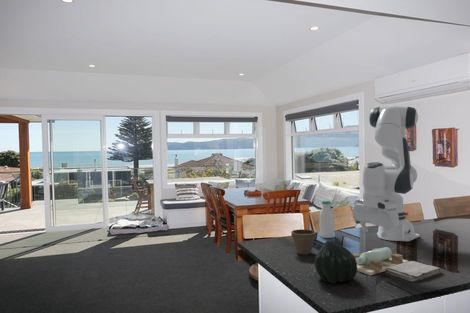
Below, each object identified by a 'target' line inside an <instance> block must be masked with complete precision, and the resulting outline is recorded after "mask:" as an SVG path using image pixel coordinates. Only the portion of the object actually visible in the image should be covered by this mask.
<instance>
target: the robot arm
mask: <svg viewBox="0 0 470 313" xmlns="http://www.w3.org/2000/svg"><path fill="white" fill-rule="evenodd" d="M418 120H419V114H418V112H417V109H416V108H415V107H412V106H385V107H384V106H383V107H379V106H378V107H377V106H376V107H373V108H372V109H371V110H370V113H369V117H368V121H369V124H370V126H371V127H372V128H374V129H375V130H374V140H375V142H376V143H377V145H379V146H380V147H381V155H382V156H383V157H384V158H386V159H388V160H389V161H390V162H391V164H390V165H389V164H387V165H386V164H385V165H384V163H382V162H377V161H375V162H373V161H371V162H368V163H366V164H364V166H363V171H362V186H363V193H362V199H359V198H357V199H355V200H354V201H353V212H352V218H353V220H354V221H358V222H359V224H360V225H361V228H362V232H363V233H368V232H369V228H368V227H367V225H366V224H371V225H375V226H378V228H377V229H378V231H377V232H376V235H377V237H378V239H382V240H387V241H392V242H393V241H394V242H411V241H412V240H413V241H414V240H415V239H418V238H420V234H419V233H416V232H415V226H414V224H412V222H410V221H409V220H408V219H407V217H408V216H409V215H410V214H409V212H408V211H404V198H403V196H402V195H403V194H404V195H405V194H407V193H409V192H410V191H411V190H413V189H414V188H413V187H414V183H416V181H417V179H418V172H417V169H416V168H415V167H414V165H413V166H412V164H411V157H410V156H411V155H410V149H409V147H410V146H409V143H408V140H407V138H406V131H408V130H409V129H412V128H414V127H415V126H416V124H417V122H418ZM406 216H407V217H406Z"/></svg>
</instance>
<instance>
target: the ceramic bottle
mask: <svg viewBox="0 0 470 313" xmlns="http://www.w3.org/2000/svg"><path fill="white" fill-rule="evenodd" d="M391 255H393V251H392V250H391V249H390V248H389V247H387V246H384V247H381V248H380V247H379V248H377V249H376V250H372V251H371V250H369V251H365V252H362V253H360V257H358V258H356V263H357V264H362V263H363V264H364V265H370V264H371V260H375V259H376V260H380V261H384V260H388V259H391Z"/></svg>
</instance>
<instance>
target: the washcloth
mask: <svg viewBox="0 0 470 313" xmlns="http://www.w3.org/2000/svg"><path fill="white" fill-rule="evenodd" d="M408 261H409V260H408ZM441 272H442V270H441V268H440V267H438V266H434V265H429V264H424V263H421V262H419V261H415V260H410V261H409V262H406V263H402V264H398V265H395V266H390V267H388V268H387V271H386V273H387V274H389V275H391V276H394V277H396V278H399V279H402V280H406V281H408V282H417V281H421V280H424V279H427V278H429V277H433V276H435V275H439V274H440V273H441Z"/></svg>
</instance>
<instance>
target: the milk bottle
mask: <svg viewBox="0 0 470 313" xmlns="http://www.w3.org/2000/svg"><path fill="white" fill-rule="evenodd" d="M331 204H332V203H331V200H326V199H324V200H322V201H321V205H322V207H321V210H320V212H319V236H320V238H323V239H331V238H334V237H335V218H334V212H333V210H332V207H331Z"/></svg>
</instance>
